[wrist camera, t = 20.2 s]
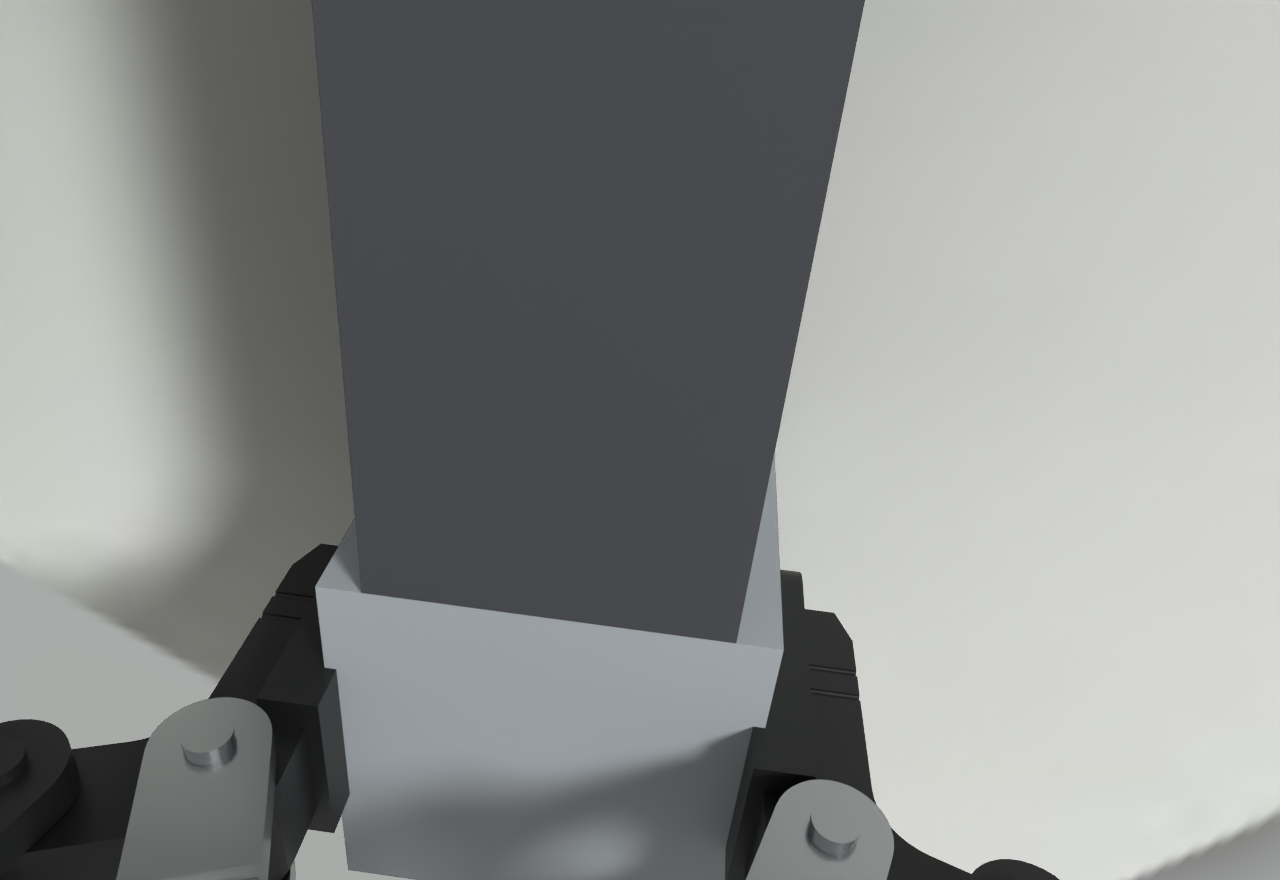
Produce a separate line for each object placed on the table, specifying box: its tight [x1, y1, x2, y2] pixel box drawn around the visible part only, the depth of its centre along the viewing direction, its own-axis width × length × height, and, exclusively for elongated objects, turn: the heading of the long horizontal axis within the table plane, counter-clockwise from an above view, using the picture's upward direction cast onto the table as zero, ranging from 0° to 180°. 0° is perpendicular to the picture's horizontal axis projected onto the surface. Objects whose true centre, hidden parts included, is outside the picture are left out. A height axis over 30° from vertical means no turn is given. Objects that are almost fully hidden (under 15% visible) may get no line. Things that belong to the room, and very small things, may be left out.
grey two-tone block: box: [312, 0, 865, 880], centre depth 10 cm, size 5×22×4 cm, turn 175°
